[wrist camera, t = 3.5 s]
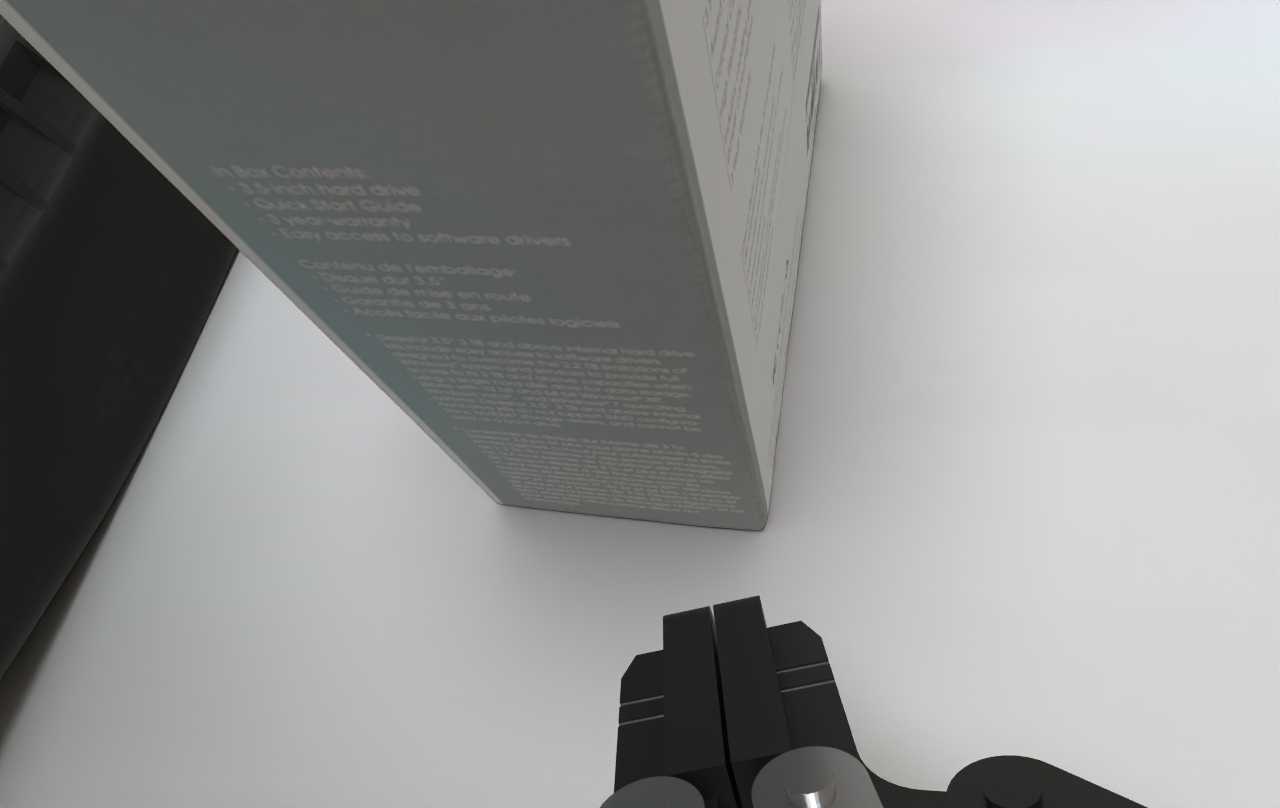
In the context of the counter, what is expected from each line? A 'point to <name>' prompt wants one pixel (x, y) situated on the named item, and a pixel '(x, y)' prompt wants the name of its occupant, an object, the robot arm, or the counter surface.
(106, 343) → the magazine
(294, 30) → the hard drive box
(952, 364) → the counter surface
